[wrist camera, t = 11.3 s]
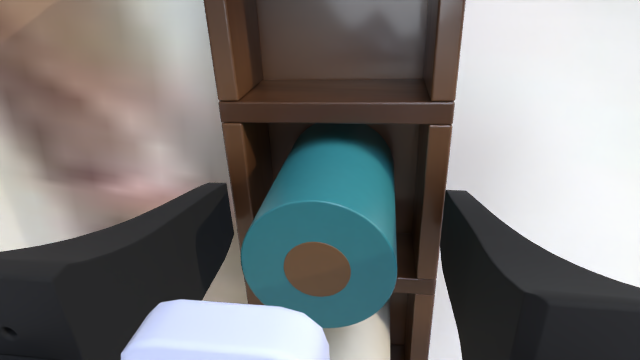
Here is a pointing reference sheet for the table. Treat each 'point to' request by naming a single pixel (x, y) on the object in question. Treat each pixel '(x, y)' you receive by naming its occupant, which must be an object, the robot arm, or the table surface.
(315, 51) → the rack
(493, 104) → the table surface
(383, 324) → the roll
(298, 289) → the paper roll
